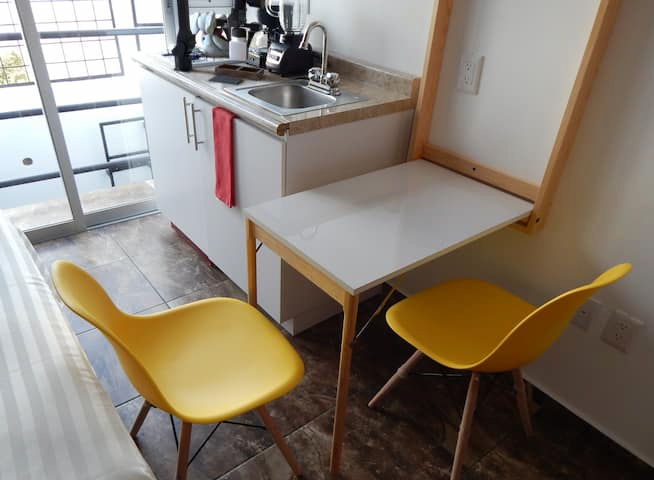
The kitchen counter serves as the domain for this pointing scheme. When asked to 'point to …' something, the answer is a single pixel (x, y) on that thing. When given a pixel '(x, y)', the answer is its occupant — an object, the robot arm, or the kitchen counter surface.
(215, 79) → the mat
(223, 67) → the holder
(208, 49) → the plush elephant
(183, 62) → the robot arm
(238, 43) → the medicine bottle
